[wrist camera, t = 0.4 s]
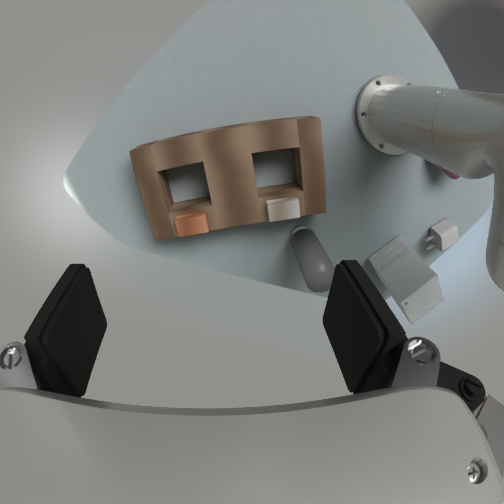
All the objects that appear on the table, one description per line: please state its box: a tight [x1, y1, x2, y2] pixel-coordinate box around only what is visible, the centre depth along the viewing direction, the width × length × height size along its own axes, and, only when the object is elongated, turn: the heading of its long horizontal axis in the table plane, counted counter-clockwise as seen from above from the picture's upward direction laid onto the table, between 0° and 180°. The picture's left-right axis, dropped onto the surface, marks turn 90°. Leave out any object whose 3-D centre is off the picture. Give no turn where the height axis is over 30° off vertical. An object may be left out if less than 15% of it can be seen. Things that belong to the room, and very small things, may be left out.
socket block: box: [129, 116, 326, 240], centre depth 36 cm, size 24×13×6 cm, turn 98°
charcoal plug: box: [291, 225, 335, 292], centre depth 39 cm, size 4×4×12 cm
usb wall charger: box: [425, 218, 458, 252], centre depth 44 cm, size 4×7×4 cm, turn 117°
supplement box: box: [368, 236, 444, 324], centre depth 43 cm, size 7×7×13 cm
